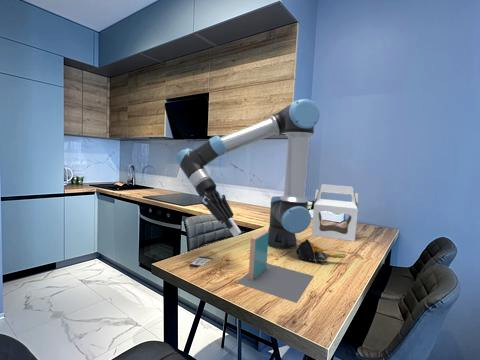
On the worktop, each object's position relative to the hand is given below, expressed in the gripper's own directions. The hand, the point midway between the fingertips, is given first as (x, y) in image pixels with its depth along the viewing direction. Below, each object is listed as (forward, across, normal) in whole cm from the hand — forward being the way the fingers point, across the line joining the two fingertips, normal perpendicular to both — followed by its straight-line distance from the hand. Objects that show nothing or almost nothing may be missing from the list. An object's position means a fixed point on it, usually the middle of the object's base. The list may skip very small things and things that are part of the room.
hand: (237, 234), depth 92 cm
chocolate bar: (+4, +1, -15) cm, 16 cm away
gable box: (+24, -70, +6) cm, 74 cm away
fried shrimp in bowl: (+26, -27, +8) cm, 38 cm away
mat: (+20, -1, +2) cm, 20 cm away
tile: (+15, -1, -3) cm, 15 cm away
